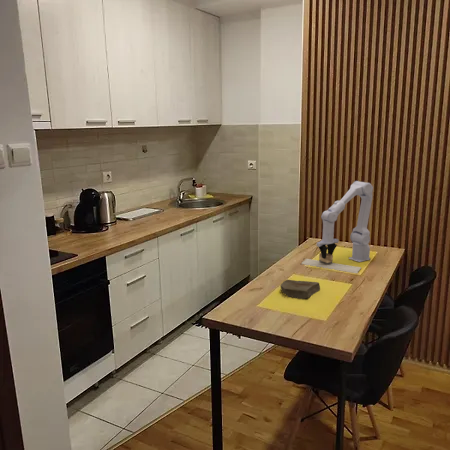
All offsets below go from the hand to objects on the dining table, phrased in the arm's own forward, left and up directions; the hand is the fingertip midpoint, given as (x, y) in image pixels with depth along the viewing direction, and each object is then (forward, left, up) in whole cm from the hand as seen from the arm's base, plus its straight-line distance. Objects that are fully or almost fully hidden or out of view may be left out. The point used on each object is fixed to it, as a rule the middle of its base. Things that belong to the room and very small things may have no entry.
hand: (326, 257), depth 229 cm
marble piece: (+39, +21, -5) cm, 45 cm away
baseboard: (+1, +4, -5) cm, 6 cm away
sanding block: (0, -1, -3) cm, 3 cm away
